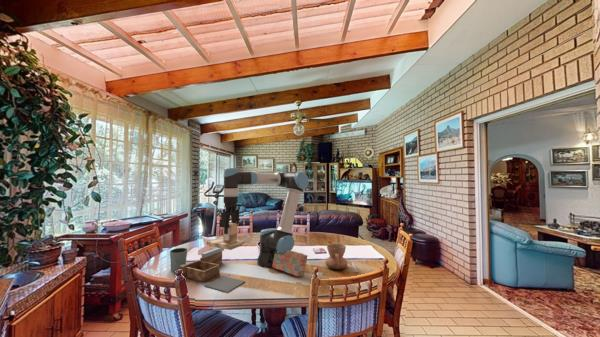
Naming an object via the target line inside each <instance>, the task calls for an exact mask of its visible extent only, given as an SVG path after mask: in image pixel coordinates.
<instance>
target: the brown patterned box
mask: <svg viewBox="0 0 600 337" xmlns="http://www.w3.org/2000/svg"><path fill="white" fill-rule="evenodd" d="M307 261H308V255H307V254H304V253H302V252H298V251H293V250H291V251H288V250H287V251H286V254H283V253H279V252H275V254H274V260H273V265H272V268H274V269H276V270H279V271H281V272H285V273H288V274H290V275H293V276H296V277H304V276H305V272H306V266H307Z"/></svg>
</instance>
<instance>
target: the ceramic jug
mask: <svg viewBox="0 0 600 337" xmlns="http://www.w3.org/2000/svg"><path fill="white" fill-rule="evenodd" d="M346 247H347V246H346V245H345V244H343V243H336V242H335V243H334V242H333V243H328V244H327V245H326V249H327V252H328V255H329V257H327V258H326V259H325V262H324V263H325V266H326V267H327V268H330V269H332V270H338V271H339V270H344V269H346V268H347V266H348V265H349V264H348V261H347V259H345V258H344V255H345V252H346Z"/></svg>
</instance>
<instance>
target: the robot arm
mask: <svg viewBox="0 0 600 337" xmlns="http://www.w3.org/2000/svg"><path fill="white" fill-rule="evenodd" d="M309 182H310V180H309V177H308V175H307V174H306V173H305V172H303V171H286V172H285V171H283V172H275V173H263V172H262V173H260V172H254V171H239V169H238V168H237V167H225V168H224V170H223V204H224V206H223V208H220V210H219V212H220V226H221V228H224V234H225V240H230V228H228V227H229V222H230V220H231V223H237V227H238V226H239V224H240V210H241V206H238V203H239V202H238V201H239V197H238V196H239V186H242V185H243V186H252V185H259V186H260V185H261V186H270V185H271V186H274V187H280V188H281V187H282V188H285V189H286V191H287V194H286V197H285V202H284V206H283V208H282V213H281V215H280V216H281V217H280V221H279V224H278V227H277V228H276V227H275V228H273V227H272V228H265V229H261V230H260V233H259V254H258V257H257V260H256V262H257V265H258V266H259V267H264V268H269V267H270V268H271V267H272V265H273V260H274V254H275V252H277V253H283V254H286V251H287V250H288V251H293V249H294V246H295V238H294V237H293V236H294V233H293V231H292V230H293V229H292V228H293V226H294V220H295V216H296V213H297V208H298V205H299V200H300V197H301V195H302V194H304V190H305V189H307V188H308V187H309ZM226 225H227V226H226ZM272 268H273V267H272Z"/></svg>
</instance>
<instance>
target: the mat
mask: <svg viewBox="0 0 600 337" xmlns="http://www.w3.org/2000/svg"><path fill="white" fill-rule="evenodd" d="M244 283H246V281H245V280H241V279H238V278H233V277H231V276H230V277H229V276H226V275H222V276H220V277H219V278H215V280H213V281H210V282H208V283H206V284H204V287H205V288H208V289H213V290H215V291H219V292H223V293H227V294H229V293H230V292H232V291H233V290H235V289H237V288H238V287H239V286H241V285H243V284H244Z"/></svg>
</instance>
